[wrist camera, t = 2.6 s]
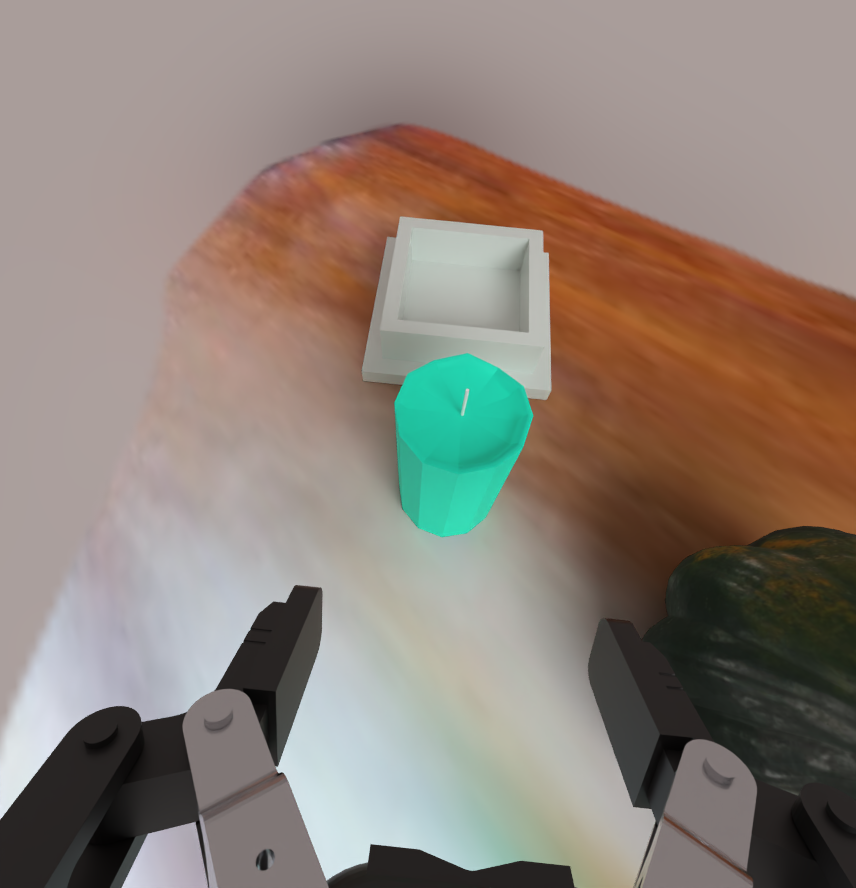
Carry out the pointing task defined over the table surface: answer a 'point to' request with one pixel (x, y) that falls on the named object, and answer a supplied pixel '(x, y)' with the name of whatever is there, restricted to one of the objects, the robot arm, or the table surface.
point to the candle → (457, 440)
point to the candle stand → (462, 302)
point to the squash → (771, 652)
